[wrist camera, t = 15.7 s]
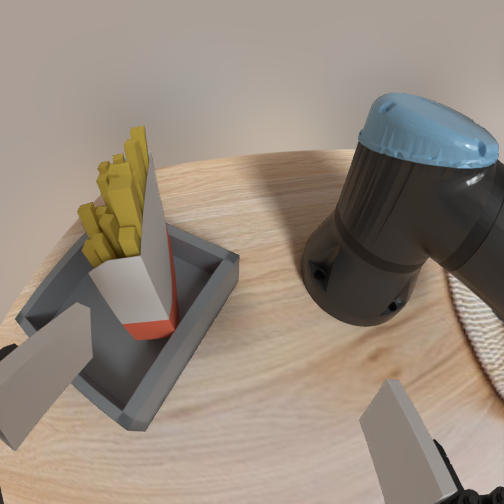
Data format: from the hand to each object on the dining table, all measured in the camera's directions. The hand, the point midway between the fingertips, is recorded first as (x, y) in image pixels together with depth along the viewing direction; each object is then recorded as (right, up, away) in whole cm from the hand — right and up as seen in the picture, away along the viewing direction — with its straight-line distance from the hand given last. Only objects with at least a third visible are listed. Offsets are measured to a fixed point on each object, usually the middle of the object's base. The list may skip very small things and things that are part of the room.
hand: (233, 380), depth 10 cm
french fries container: (-10, 0, +18) cm, 21 cm away
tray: (-13, -2, +18) cm, 22 cm away
